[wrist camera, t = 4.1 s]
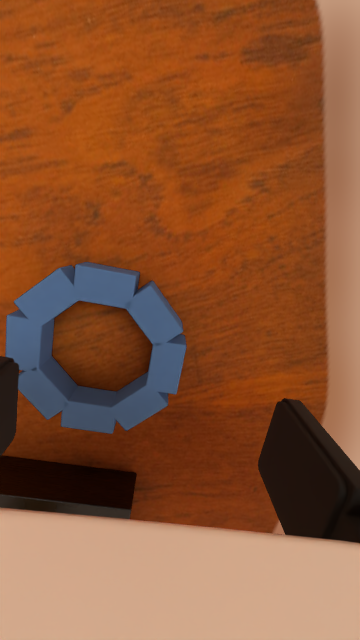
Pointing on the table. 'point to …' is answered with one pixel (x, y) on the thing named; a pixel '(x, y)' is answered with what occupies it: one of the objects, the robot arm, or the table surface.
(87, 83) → the table surface
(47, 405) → the segmented ring
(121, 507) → the black dial base plate
